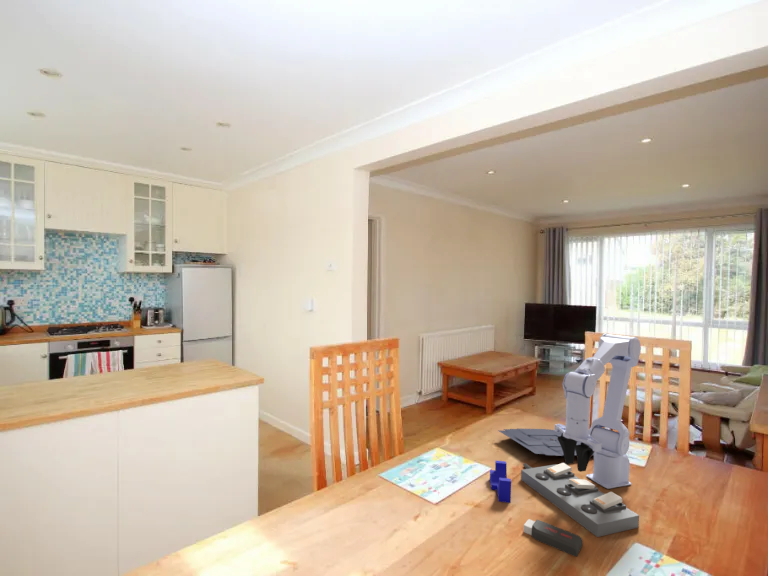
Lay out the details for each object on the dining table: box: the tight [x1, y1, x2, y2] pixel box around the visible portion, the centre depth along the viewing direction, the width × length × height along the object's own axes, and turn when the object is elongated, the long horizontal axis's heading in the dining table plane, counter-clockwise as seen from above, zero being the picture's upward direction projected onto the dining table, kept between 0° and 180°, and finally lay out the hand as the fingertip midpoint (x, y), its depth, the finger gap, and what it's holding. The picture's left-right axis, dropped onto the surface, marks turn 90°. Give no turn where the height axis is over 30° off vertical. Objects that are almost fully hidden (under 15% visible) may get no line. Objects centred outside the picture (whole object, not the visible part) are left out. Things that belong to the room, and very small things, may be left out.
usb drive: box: [523, 518, 584, 557], centre depth 94 cm, size 5×12×3 cm, turn 51°
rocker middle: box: [569, 478, 596, 489], centre depth 112 cm, size 6×3×1 cm, turn 109°
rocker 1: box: [547, 462, 572, 477], centre depth 120 cm, size 6×3×1 cm, turn 109°
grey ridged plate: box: [497, 428, 594, 457], centre depth 146 cm, size 24×30×4 cm
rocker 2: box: [593, 491, 623, 509], centre depth 104 cm, size 6×3×1 cm, turn 109°
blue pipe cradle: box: [489, 460, 512, 504], centre depth 116 cm, size 12×4×6 cm, turn 170°
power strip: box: [520, 462, 640, 538], centre depth 114 cm, size 13×35×4 cm, turn 19°
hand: (575, 466), depth 111 cm, fingers open, 4 cm apart
